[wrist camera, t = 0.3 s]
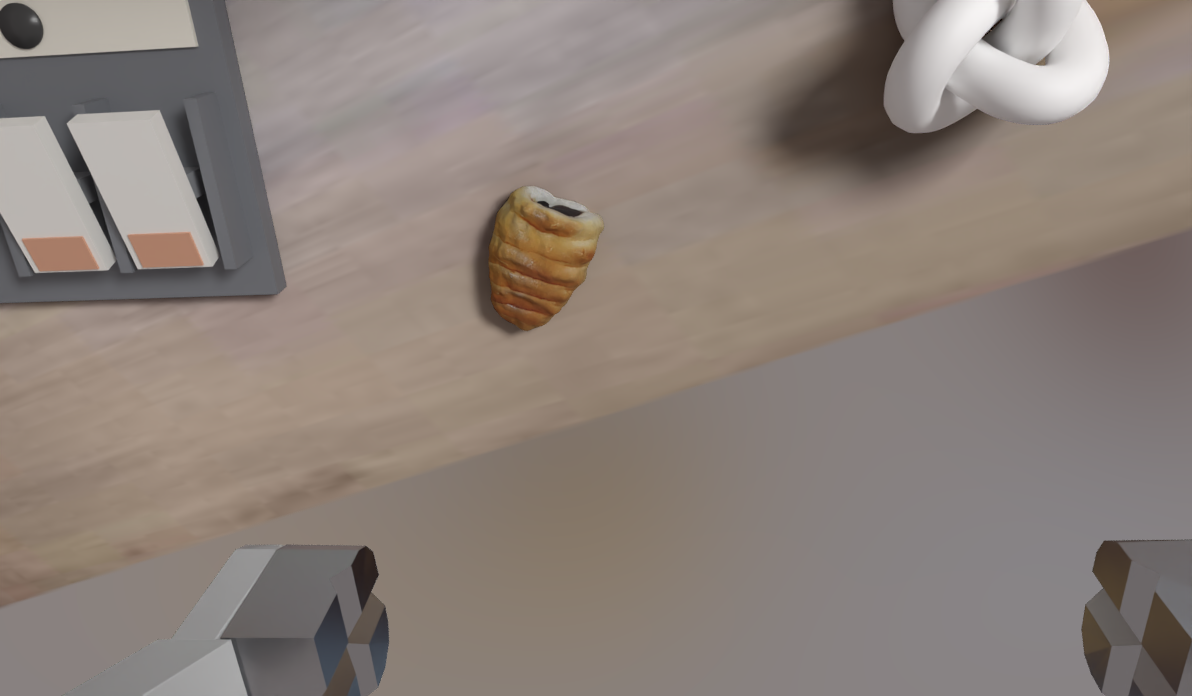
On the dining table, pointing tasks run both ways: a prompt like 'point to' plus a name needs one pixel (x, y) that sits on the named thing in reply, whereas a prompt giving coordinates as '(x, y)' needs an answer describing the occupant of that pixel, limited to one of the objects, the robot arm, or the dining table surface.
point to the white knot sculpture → (994, 61)
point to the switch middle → (47, 201)
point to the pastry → (539, 255)
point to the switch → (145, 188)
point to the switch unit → (142, 83)
